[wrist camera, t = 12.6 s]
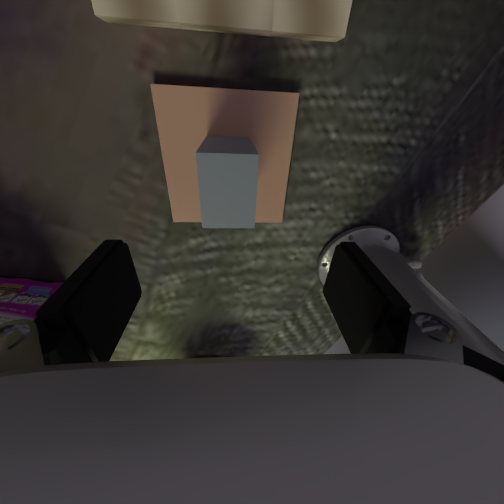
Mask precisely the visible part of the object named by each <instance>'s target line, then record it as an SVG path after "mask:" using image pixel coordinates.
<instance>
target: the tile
mask: <svg viewBox="0 0 504 504" xmlns="http://www.w3.org/2000/svg"><path fill="white" fill-rule="evenodd" d="M150 85H151V91H152V97H153V103H154V109H155V115H156V121H157V127H158V133H159V139H160V145H161V151H162V157H163V163H164V169H165V175H166V181H167V187H168V193H169V199H170V205H171V211H172V217H173V222H202V218H201V207H200V196H199V184H198V173H197V162H196V151H197V150H198V148H199V147H200V145H201V144H202V142H203V140H204V139H205V137H206V136H226V137H250V139H251V141H252V142H253V144H254V146H255V148H256V150H257V152H258V154H259V163H258V180H257V197H256V214H255V222H273V223H282V218H283V211H284V203H285V196H286V189H287V181H288V174H289V167H290V159H291V152H292V144H293V137H294V130H295V122H296V115H297V108H298V100H299V93H289V92H273V91H257V90H241V89H225V88H209V87H193V86H177V85H161V84H150Z"/></svg>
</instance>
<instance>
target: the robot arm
mask: <svg viewBox="0 0 504 504" xmlns="http://www.w3.org/2000/svg"><path fill="white" fill-rule="evenodd" d="M421 266H422V262H421V260H419V259H410V260H407V259H406V258H405V257H404V256H403V255H402V254H401V253H400V246H399V242H398V240H397V238H396V237H395V236H394V235H393V234H392V233H391V232H389V231H388V230H387V229H384V228H382V227H379V226H374V225H365V226H359V227H355V228H352V229H349V230H347V231H345V232H343V233H341V234H340V235H338V236H337V237H335V238H334V239H333V240H332V241H331V242H330V243H328V244H327V246H326V247H325V248H324V249H323V251H322V253H321V255H320V256H319V259H318V262H317V273H318V276H319V278H320V280H321V282H322V283H323V285H324V287H323V294H324V297H325V299H326V301H327V303H328V305H329V307H330V309H331V312H332V314H333V316H334V318H335V320H336V322H337V324H338V327H339V329H340V331H341V333H342V335H343V337H344V339H345V341H346V344H347V346H348V348H349V350H350V352H351V354H317V355H279V356H247V357H216V358H187V359H160V360H133V361H109V360H110V358H111V356H112V354H113V352H114V350H115V348H116V346H117V344H118V342H119V340H120V338H121V336H122V334H123V332H124V330H125V328H126V326H127V324H128V322H129V320H130V318H131V316H132V313H133V311H134V309H135V307H136V305H137V303H138V301H139V299H140V297H141V287H140V283H139V280H138V277H137V274H136V270H135V267H134V264H133V260H132V257H131V254H130V251H129V247H128V245H127V244H126V243H123V241H122V240H105V241H104V242H103V243H102V244H101V245H100V246H99V247H98V248H97V249H96V250H95V251H94V252H93V253H92V254H91V255H90V256H89V257H88V258H87V259H86V260H85V261H84V262H83V263H82V264H81V265H80V266H79V267H78V268H77V269H76V270H75V272H74V273H73V274H72V275H71V276H70V277H69V278H68V279H67V280H66V281H65V282H64V283H63V284H62V285H61V286H60V287H59V288H58V289H57V290H56V291H55V292H54V293H53V294H52V295H51V296H50V297H49V298H48V299H47V300H46V302H45V303H44V304H43V305H42V306H41V307H40V308H39V309H38V310H37V311H36V314H37V315H38V316H37V317H36V318H35V319H34V320H33V321H32V320H30V319H18V320H12V321H9V322H6V323H3V324H1V325H0V504H504V351H502V350H501V349H500V348H499V347H498V346H497V345H496V344H494V343H493V342H492V341H491V340H490V339H489V338H488V337H487V336H486V335H485V334H483V333H482V332H481V331H480V330H479V329H478V328H477V327H476V326H475V325H474V324H473V323H471V322H470V321H469V320H468V319H467V318H466V317H465V316H464V315H463V314H462V313H460V312H459V311H458V310H457V309H456V308H455V307H454V306H453V305H452V304H451V303H450V302H448V300H446V299H445V298H444V297H443V296H442V295H441V294H440V293H439V292H437V290H435V289H434V288H433V287H432V286H431V285H430V284H429V283H428V282H427V281H426V280H425V279H424V278H423V275H422V273H421V272H420V271H415V270H414V269H413V268H421Z"/></svg>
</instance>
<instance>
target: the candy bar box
mask: <svg viewBox="0 0 504 504" xmlns="http://www.w3.org/2000/svg"><path fill="white" fill-rule="evenodd" d="M63 283H64V282H57V281H47V280H36V279H26V278H15V277H4V276H0V325H1V324H3V323H6V322H9V321H12V320H18V319H30V320H32V321H33V320H34V319H35V318H36V317H37V316H38V315H37V314H36V311H37V310H38V309H39V308H40V307H41V306H42V305H43V304H44V303H45V302H46V300H47V299H48V298H49V297H50V296H51V295H52V294H53V293H54V292H55V291H56V290H57V289H58V288H59V287H60V286H61V285H62V284H63Z"/></svg>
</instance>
